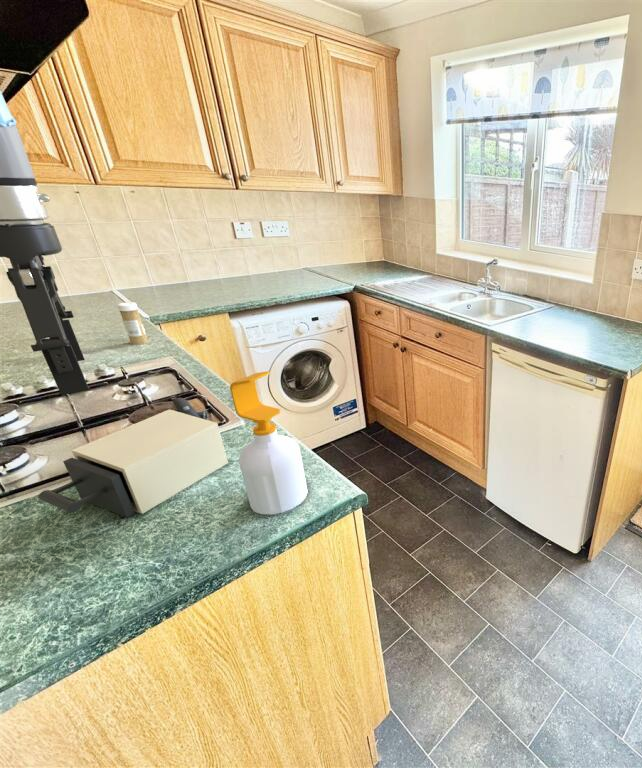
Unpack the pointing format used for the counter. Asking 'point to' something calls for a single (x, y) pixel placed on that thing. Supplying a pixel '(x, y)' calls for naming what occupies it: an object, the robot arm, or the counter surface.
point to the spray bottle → (267, 455)
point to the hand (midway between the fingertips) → (74, 375)
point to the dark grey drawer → (93, 488)
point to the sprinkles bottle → (132, 323)
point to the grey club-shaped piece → (188, 408)
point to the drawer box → (159, 455)
